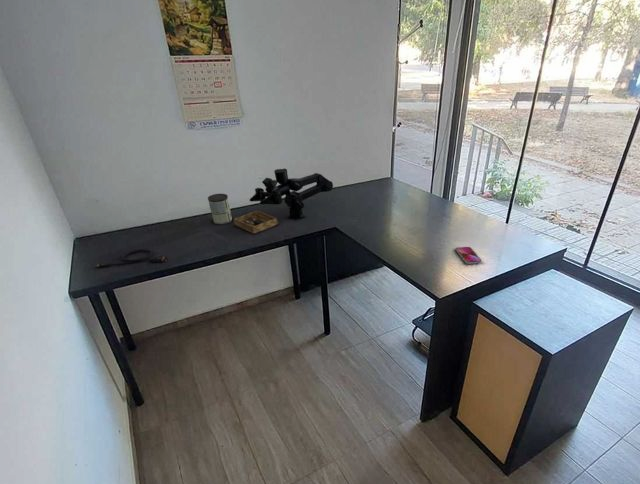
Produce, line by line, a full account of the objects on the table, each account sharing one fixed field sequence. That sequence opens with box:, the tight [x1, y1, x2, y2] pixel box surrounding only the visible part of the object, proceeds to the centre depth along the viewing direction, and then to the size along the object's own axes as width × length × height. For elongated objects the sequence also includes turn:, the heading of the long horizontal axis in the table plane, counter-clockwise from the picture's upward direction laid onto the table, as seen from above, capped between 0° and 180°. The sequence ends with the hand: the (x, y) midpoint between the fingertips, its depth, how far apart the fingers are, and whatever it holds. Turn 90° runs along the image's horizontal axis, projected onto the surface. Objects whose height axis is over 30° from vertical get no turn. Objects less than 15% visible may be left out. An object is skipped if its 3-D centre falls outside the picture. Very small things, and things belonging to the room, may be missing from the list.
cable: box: [96, 248, 166, 268], centre depth 178 cm, size 14×28×2 cm, turn 100°
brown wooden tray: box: [233, 210, 279, 234], centre depth 208 cm, size 16×17×4 cm
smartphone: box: [455, 246, 482, 265], centre depth 176 cm, size 7×1×15 cm
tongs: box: [244, 217, 264, 226], centre depth 208 cm, size 14×6×3 cm, turn 49°
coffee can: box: [207, 193, 233, 225], centre depth 211 cm, size 10×10×14 cm
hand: (255, 201), depth 193 cm, fingers open, 9 cm apart
